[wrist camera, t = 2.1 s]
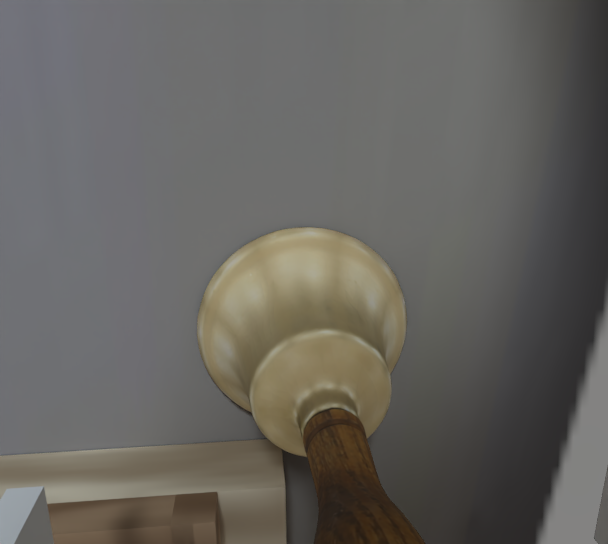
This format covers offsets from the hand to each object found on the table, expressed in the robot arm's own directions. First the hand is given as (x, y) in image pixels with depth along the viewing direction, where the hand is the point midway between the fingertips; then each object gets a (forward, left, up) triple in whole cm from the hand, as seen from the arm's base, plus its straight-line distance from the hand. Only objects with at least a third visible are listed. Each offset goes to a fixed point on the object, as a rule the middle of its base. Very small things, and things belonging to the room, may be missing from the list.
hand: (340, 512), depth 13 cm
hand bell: (0, 0, -10) cm, 10 cm away
